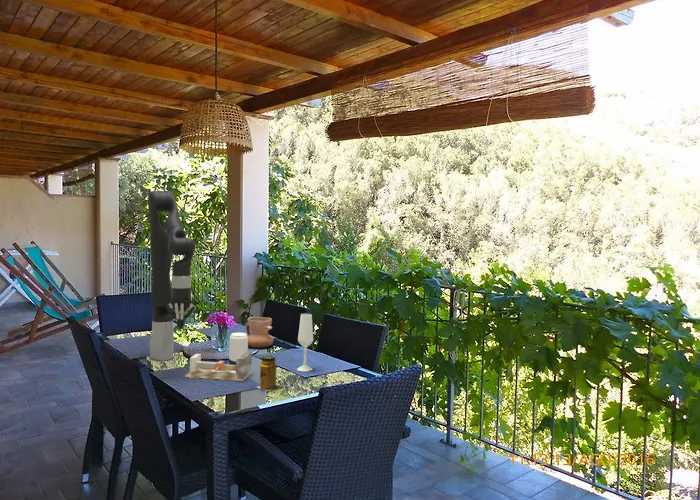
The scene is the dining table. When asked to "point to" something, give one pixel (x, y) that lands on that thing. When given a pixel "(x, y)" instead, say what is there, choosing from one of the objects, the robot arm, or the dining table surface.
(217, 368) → the orange stepped bar
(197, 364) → the plunger
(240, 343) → the beverage can
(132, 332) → the dining table surface
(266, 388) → the condiment
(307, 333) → the champagne flute
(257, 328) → the ceramic jug
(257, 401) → the dining table surface
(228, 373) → the frame
